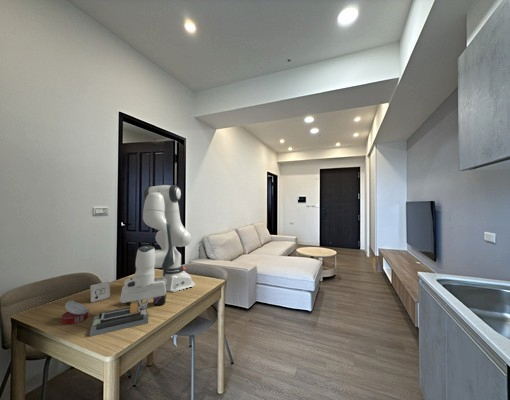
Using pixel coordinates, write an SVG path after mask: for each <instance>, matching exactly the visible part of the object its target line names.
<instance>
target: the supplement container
mask: <svg viewBox="0 0 510 400" xmlns="http://www.w3.org/2000/svg"><path fill="white" fill-rule="evenodd" d="M166 286H167V284H166ZM166 302H167V293H166V294H165V295H164V296H159V297H154V298H153V299H152V304H153V306H155V307H159V306H163V305H165V304H166Z"/></svg>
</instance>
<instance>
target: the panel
mask: <svg viewBox="0 0 510 400" xmlns="http://www.w3.org/2000/svg"><path fill="white" fill-rule="evenodd" d="M147 307H148V306H147ZM147 307H146V308H141V309H140V304H138V311H137V312H136V313H131V314H130V306H128V307H127V306H126V307H122V308H117V309H112V310H108V311H102V312H99V314H98V315H94V317H93V321H92V324H91V327H90V330H89V337H93V336H98V335H102V334H106V333H111V332H115V331H119V330H124V329H128V328H131V327H132V328H133V327H136V326H141V325H145V324H148V323H149V315H148V314H149V313H148V309H147Z"/></svg>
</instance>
